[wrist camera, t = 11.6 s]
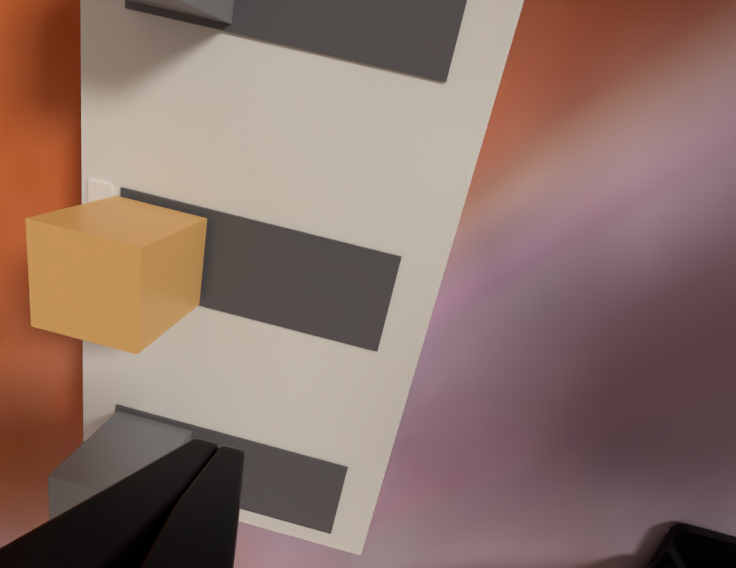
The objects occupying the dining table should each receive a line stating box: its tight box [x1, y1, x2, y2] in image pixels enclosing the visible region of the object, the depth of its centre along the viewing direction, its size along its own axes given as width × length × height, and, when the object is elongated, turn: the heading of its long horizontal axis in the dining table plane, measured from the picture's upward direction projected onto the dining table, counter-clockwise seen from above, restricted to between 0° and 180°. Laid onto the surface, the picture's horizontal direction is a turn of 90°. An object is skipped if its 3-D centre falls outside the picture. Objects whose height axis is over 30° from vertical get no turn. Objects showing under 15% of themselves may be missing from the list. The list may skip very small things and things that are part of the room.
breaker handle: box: [25, 196, 207, 354], centre depth 13 cm, size 3×3×4 cm
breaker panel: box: [48, 0, 524, 555], centre depth 15 cm, size 12×22×6 cm, turn 168°
